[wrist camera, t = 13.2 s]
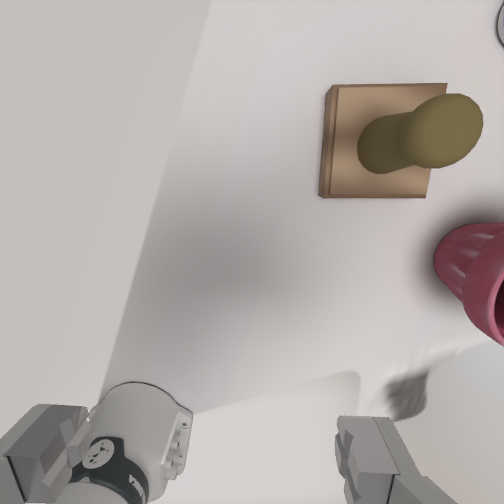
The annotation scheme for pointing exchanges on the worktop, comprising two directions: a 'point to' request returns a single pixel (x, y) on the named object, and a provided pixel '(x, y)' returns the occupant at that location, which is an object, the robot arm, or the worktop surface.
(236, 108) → the worktop surface
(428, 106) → the cork
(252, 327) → the worktop surface
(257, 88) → the worktop surface
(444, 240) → the plant pot
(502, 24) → the supplement bottle
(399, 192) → the walnut stand
